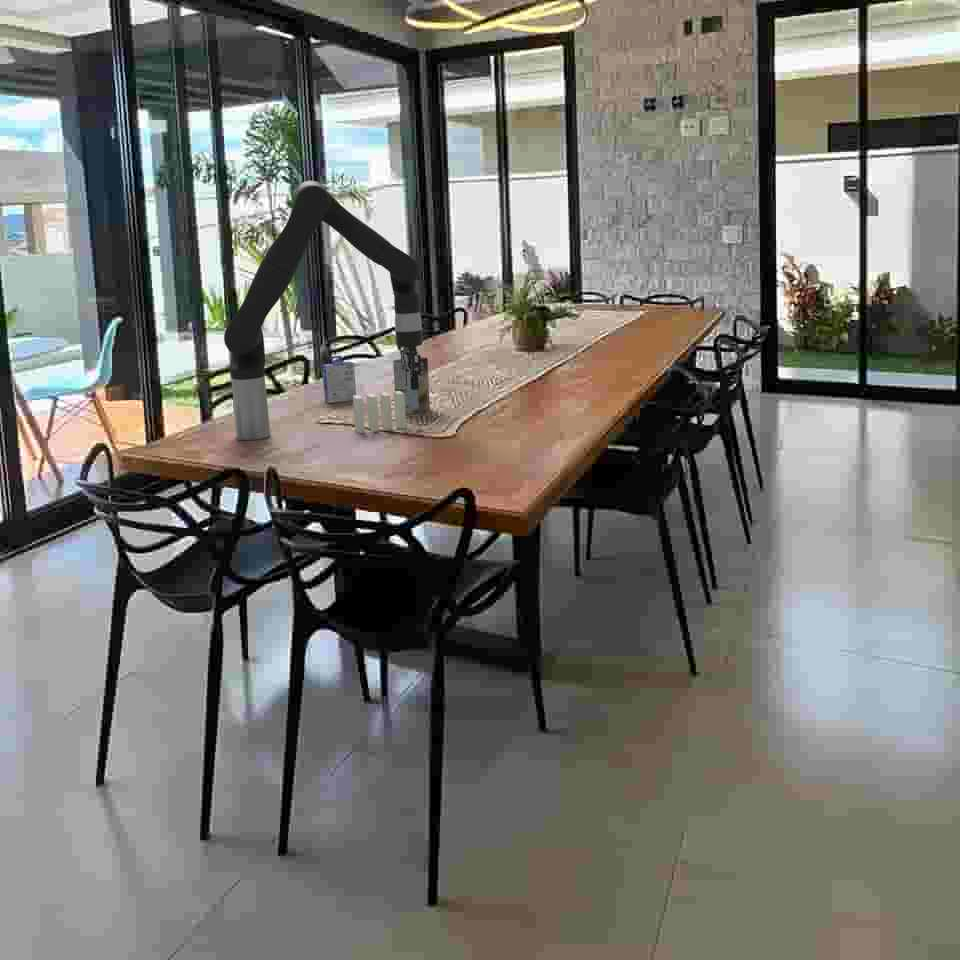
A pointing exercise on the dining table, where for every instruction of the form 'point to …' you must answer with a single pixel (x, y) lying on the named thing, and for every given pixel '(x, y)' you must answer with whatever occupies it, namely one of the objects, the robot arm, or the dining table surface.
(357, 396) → the domino
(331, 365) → the ink cartridge box
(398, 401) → the domino
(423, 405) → the coffee box
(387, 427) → the domino
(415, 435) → the dining table surface
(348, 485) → the dining table surface
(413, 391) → the end domino
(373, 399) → the domino
